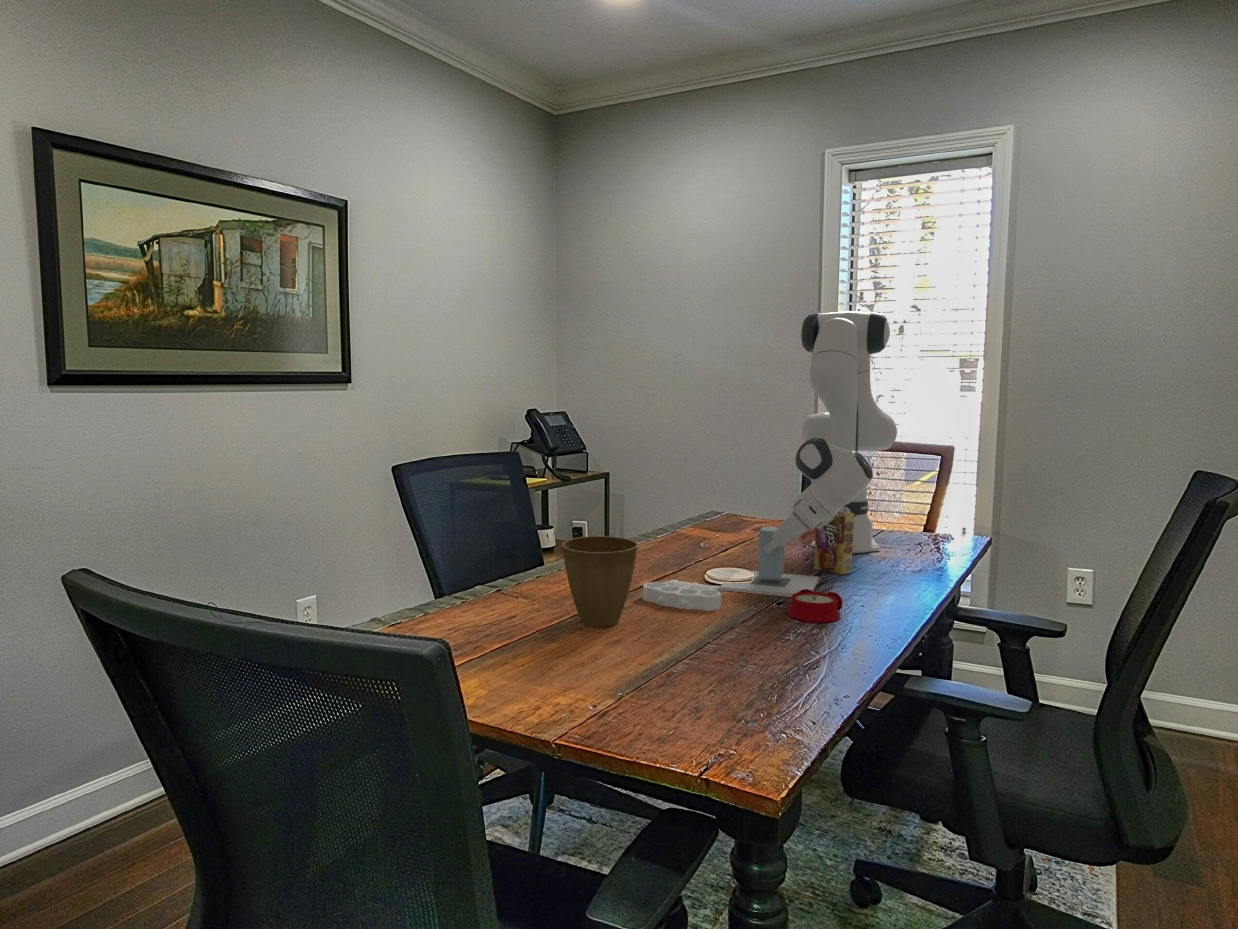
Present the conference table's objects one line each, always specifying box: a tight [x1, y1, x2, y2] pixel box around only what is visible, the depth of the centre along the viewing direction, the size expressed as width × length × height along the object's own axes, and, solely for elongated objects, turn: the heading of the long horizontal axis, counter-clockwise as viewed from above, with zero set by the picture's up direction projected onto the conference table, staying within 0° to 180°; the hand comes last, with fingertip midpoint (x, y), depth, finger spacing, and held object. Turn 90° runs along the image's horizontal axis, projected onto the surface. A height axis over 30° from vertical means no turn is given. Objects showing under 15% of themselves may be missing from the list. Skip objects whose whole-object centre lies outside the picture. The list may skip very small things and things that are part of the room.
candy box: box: [813, 511, 854, 575], centre depth 202 cm, size 9×4×15 cm, turn 39°
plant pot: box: [561, 535, 639, 628], centre depth 159 cm, size 15×15×16 cm
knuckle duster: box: [642, 579, 724, 612], centre depth 175 cm, size 3×18×15 cm
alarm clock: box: [787, 589, 844, 624], centre depth 166 cm, size 10×6×15 cm
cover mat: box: [719, 570, 820, 598], centre depth 189 cm, size 18×20×1 cm
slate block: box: [757, 526, 785, 579], centre depth 188 cm, size 5×5×11 cm
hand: (768, 548), depth 188 cm, fingers closed on slate block, 5 cm apart
